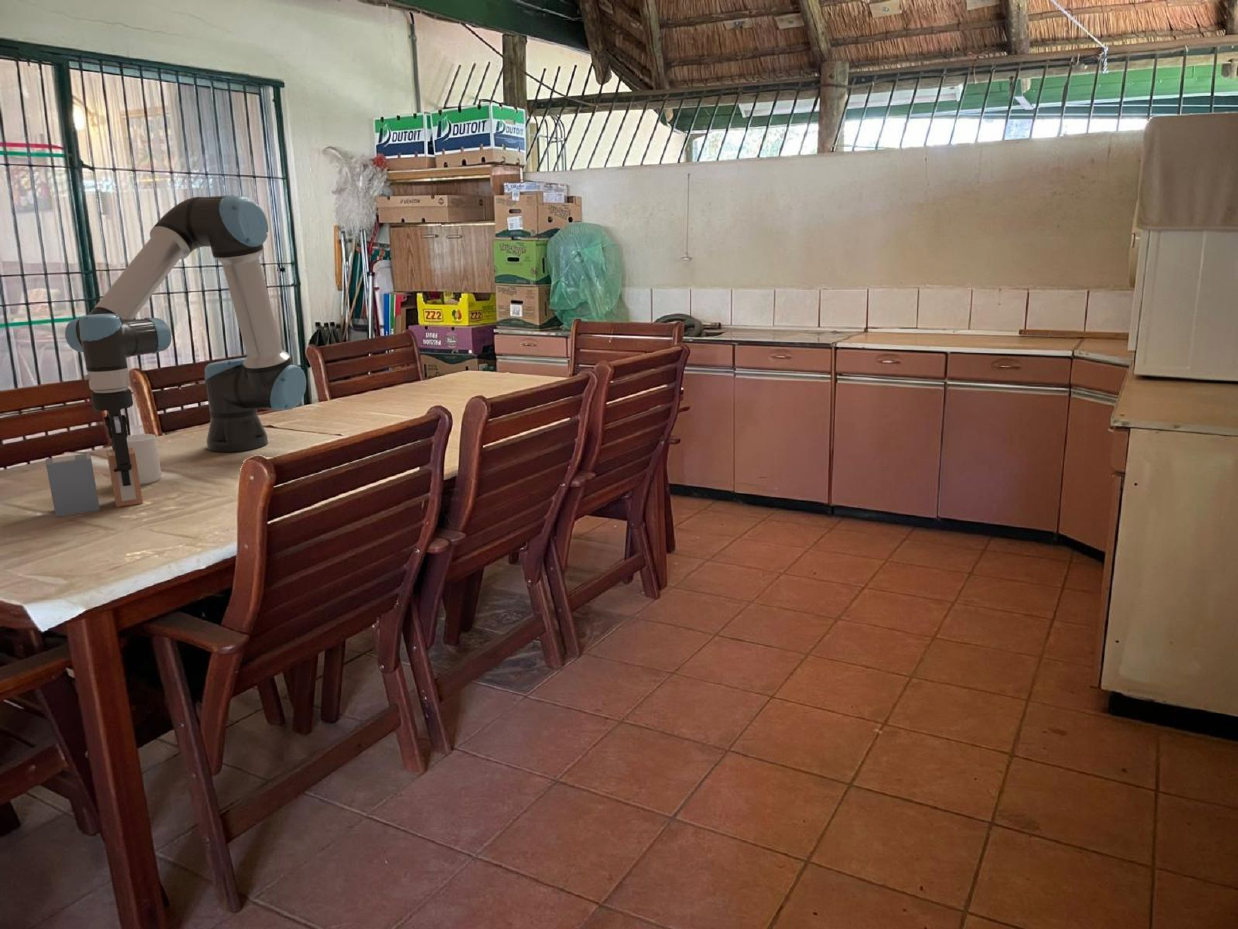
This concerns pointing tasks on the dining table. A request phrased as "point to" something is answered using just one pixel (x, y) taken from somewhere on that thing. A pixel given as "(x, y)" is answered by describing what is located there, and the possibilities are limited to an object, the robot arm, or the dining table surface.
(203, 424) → the dining table surface
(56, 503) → the toy oven block
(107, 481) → the dining table surface
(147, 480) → the mug
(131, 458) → the stub
